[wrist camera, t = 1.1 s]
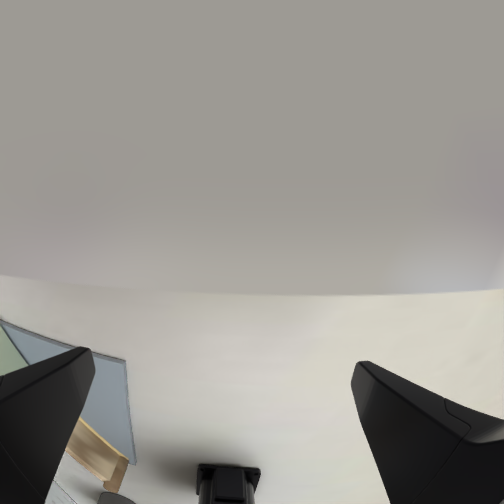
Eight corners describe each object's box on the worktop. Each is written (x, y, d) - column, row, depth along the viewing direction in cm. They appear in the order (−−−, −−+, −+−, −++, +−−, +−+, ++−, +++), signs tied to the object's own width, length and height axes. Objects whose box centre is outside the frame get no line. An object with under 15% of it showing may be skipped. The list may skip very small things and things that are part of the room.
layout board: (137, 463, 23) (135, 467, 23) (3, 408, 22) (0, 411, 21) (125, 361, 21) (122, 364, 20) (-24, 309, 20) (-28, 310, 19)
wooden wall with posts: (133, 458, 23) (121, 491, 18) (122, 461, 23) (110, 494, 18) (58, 387, 21) (33, 415, 16) (50, 393, 22) (26, 420, 16)
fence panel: (49, 390, 20) (30, 412, 16) (45, 394, 20) (26, 415, 17) (-1, 323, 19) (-25, 338, 15) (-4, 328, 19) (-28, 343, 15)
